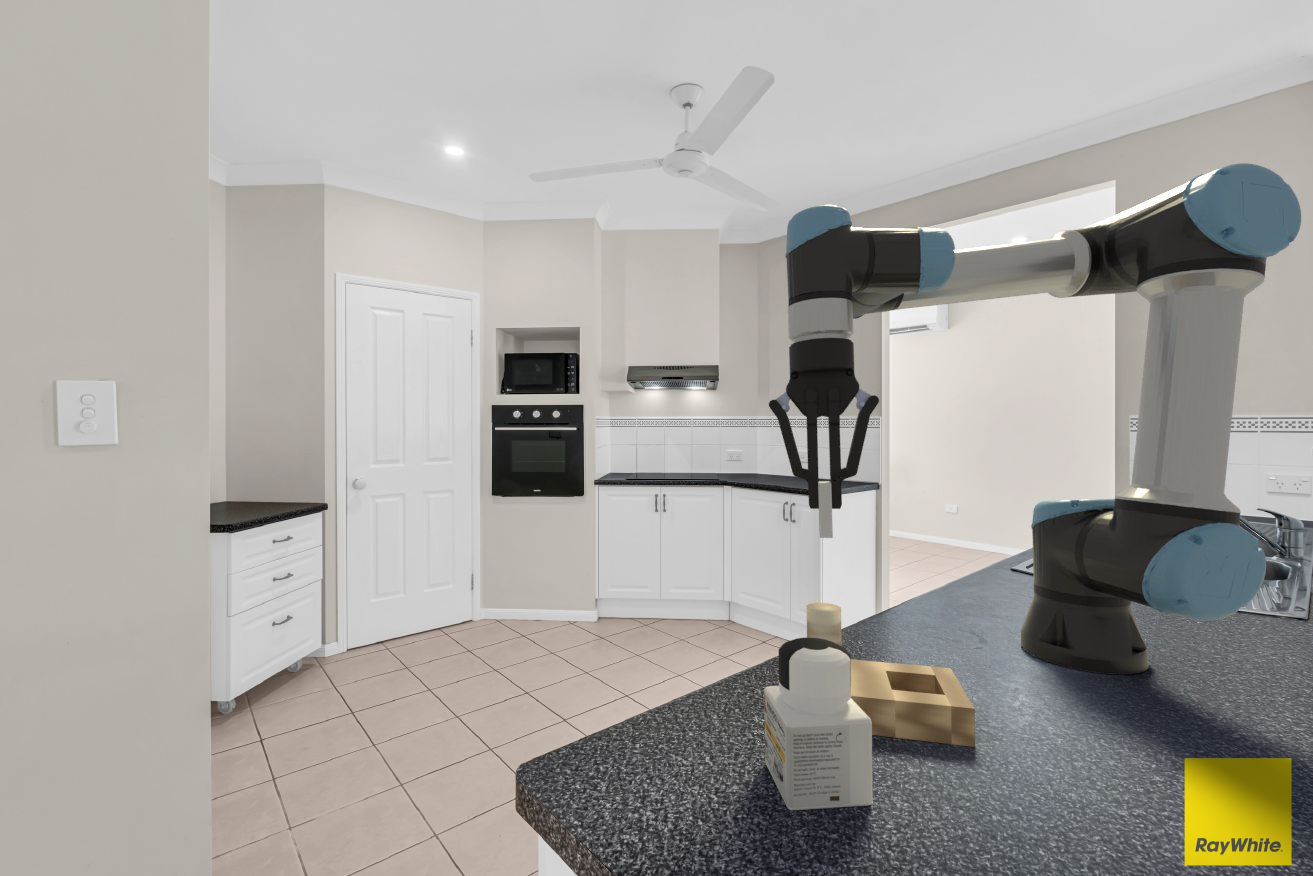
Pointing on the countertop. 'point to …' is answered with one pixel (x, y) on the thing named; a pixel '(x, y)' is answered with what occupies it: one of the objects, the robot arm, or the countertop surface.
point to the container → (817, 729)
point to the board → (913, 702)
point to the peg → (824, 622)
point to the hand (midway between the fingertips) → (825, 535)
